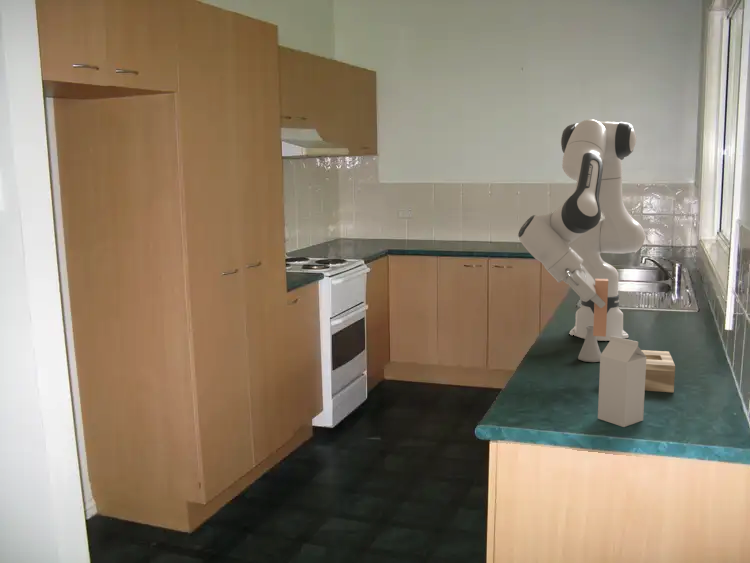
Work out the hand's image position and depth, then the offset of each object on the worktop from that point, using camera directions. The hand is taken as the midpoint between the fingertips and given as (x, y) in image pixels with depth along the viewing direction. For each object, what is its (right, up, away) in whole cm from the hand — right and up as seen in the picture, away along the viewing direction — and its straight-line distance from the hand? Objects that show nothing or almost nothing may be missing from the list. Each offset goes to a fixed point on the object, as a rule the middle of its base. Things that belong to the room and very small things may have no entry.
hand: (603, 304), depth 196 cm
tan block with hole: (+12, -21, -2) cm, 24 cm away
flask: (+3, -17, +21) cm, 27 cm away
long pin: (-1, -8, +2) cm, 8 cm away
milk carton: (-5, -26, -29) cm, 39 cm away
